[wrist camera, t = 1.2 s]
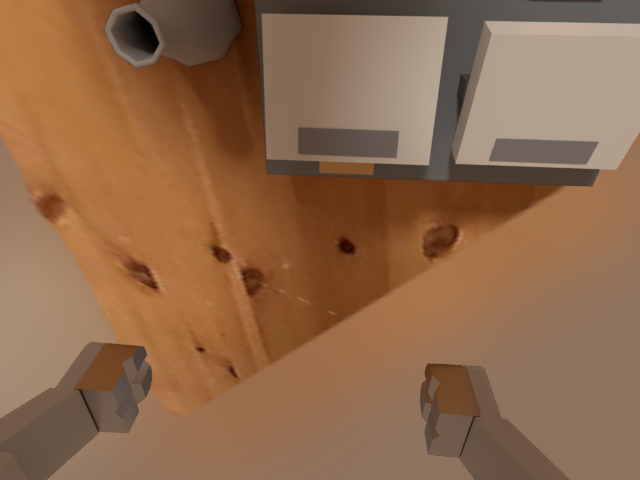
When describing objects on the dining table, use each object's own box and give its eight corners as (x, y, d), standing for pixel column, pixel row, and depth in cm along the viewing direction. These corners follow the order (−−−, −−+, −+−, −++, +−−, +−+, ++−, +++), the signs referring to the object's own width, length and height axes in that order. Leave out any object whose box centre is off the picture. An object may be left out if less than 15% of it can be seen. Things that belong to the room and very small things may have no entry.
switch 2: (484, 20, 22) (492, 34, 21) (679, 24, 22) (699, 38, 20) (451, 147, 28) (455, 164, 27) (604, 153, 28) (616, 170, 26)
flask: (260, 31, 31) (225, 61, 23) (189, 81, 34) (137, 124, 26) (196, -70, 28) (131, -76, 20) (124, -6, 31) (40, 12, 23)
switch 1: (267, 16, 24) (261, 13, 23) (441, 19, 24) (448, 16, 22) (271, 152, 28) (266, 159, 26) (424, 158, 27) (429, 165, 25)
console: (268, -52, 28) (244, -51, 22) (633, -48, 27) (714, -46, 21) (279, 145, 37) (263, 186, 30) (559, 155, 35) (601, 199, 29)
